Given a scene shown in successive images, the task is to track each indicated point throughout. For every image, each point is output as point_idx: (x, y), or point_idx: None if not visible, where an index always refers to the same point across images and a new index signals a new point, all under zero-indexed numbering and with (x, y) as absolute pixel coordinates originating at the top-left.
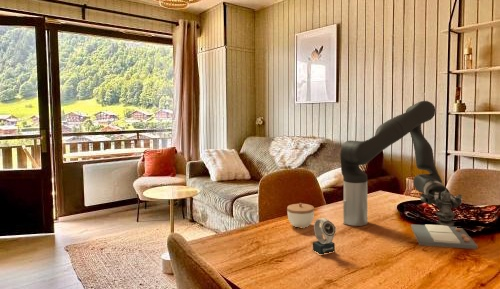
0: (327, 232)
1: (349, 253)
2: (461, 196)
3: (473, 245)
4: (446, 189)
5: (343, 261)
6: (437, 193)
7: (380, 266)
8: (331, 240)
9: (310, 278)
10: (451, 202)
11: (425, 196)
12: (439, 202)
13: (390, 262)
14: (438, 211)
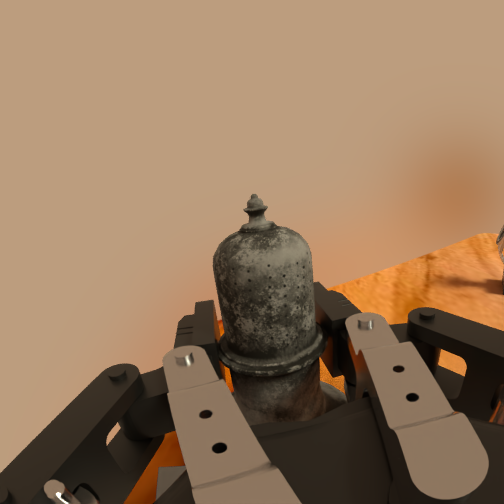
0: (501, 234)
1: (485, 303)
2: (32, 441)
3: (174, 467)
4: (248, 203)
5: (464, 285)
6: (411, 425)
7: (407, 298)
8: (500, 257)
9: (450, 253)
10: (220, 340)
11: (486, 327)
12: (316, 284)
13: (402, 314)
14: (334, 404)
